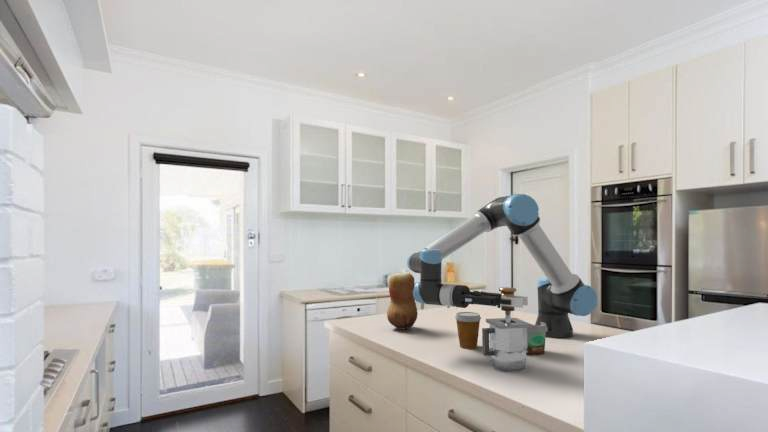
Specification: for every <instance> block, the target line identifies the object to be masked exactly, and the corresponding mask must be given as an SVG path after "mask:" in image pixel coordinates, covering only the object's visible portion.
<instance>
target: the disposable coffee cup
mask: <svg viewBox="0 0 768 432" xmlns="http://www.w3.org/2000/svg"><path fill="white" fill-rule="evenodd" d="M480 315H481V314H480V313H479V312H473V311H460V312H459V311H458V312H456V314H455V316H454V319H455V321H456V327H457V328H456V329H457V336H458V342H459V343H458V344H459V347H460V348H462V349H467V350H468V349H471V350H472V349H477V348H478V341H479V332H480V323H481V319H482V317H481V316H480Z"/></svg>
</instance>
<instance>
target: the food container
mask: <svg viewBox="0 0 768 432" xmlns="http://www.w3.org/2000/svg"><path fill="white" fill-rule="evenodd" d="M547 331H548V328H547V325H546V323H544V322H540V324H538V325H535V324H532V328H527V349H526V356H531V357H533V356H543V355H544V354H545V353H546V352H545V351H546V350H545V349H546V337H545V336H546V332H547Z"/></svg>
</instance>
